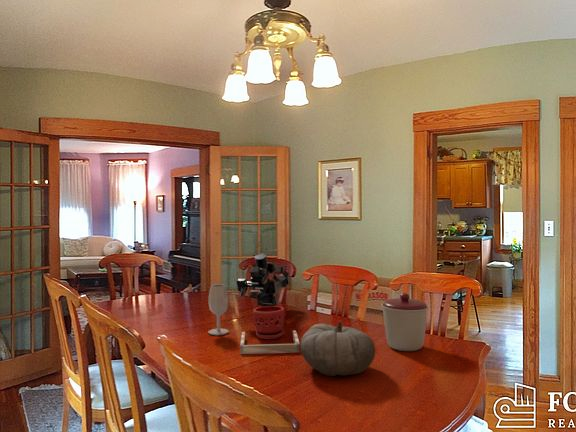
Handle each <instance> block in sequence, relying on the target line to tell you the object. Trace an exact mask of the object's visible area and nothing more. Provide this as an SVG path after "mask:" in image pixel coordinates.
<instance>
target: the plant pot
mask: <svg viewBox="0 0 576 432" xmlns="http://www.w3.org/2000/svg"><path fill="white" fill-rule="evenodd" d="M252 313H253V315H252V316H253V322H254V327H255V329H256V332H255V335H256V337H257V338H260V339H261V340H262V339H263V340H274V339H279V338H280V337H282V336H283V335H284V330H283V327H284V324H285V323H284V322H285V309H284V307H283V306H278V305H277V306H264V307H261V306H259V307H255V308H254V309H253V310H252ZM261 319H262V320H261Z"/></svg>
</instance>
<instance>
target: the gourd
mask: <svg viewBox="0 0 576 432" xmlns="http://www.w3.org/2000/svg"><path fill="white" fill-rule="evenodd" d="M342 324H343V322H342V320H339V322H338V324H337V325H336V326H334V325H331V324H326V323H316V324H313V325H311V327H310V328H309V329H308V330H307V331H306V332H305V333H304V334H303V336H302V337H301V340H300V353H301V355H302V357H303V359H304V360H305V361H306V363H307V364H308V365H309V366H310V367H311V368H312V369H314V370H317V371H318V373H320V374H323V375H324V376H329V377H330V376H331V377H335V376H337V375H338V376H348V375H350V376H351V375H356V374H357V375H358V374H360V373H363V372H364V371H365V370H366V369H368V368H369V367H370V365H372V363H373V361H374V359H375V354H376V347H375V343H374V341H373V339H372V338H371V337H370V336H369V335H368V334H367V333H365V332H364V331H361V330H360V329H357V328H355V327H350V326H343V325H342Z"/></svg>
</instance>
